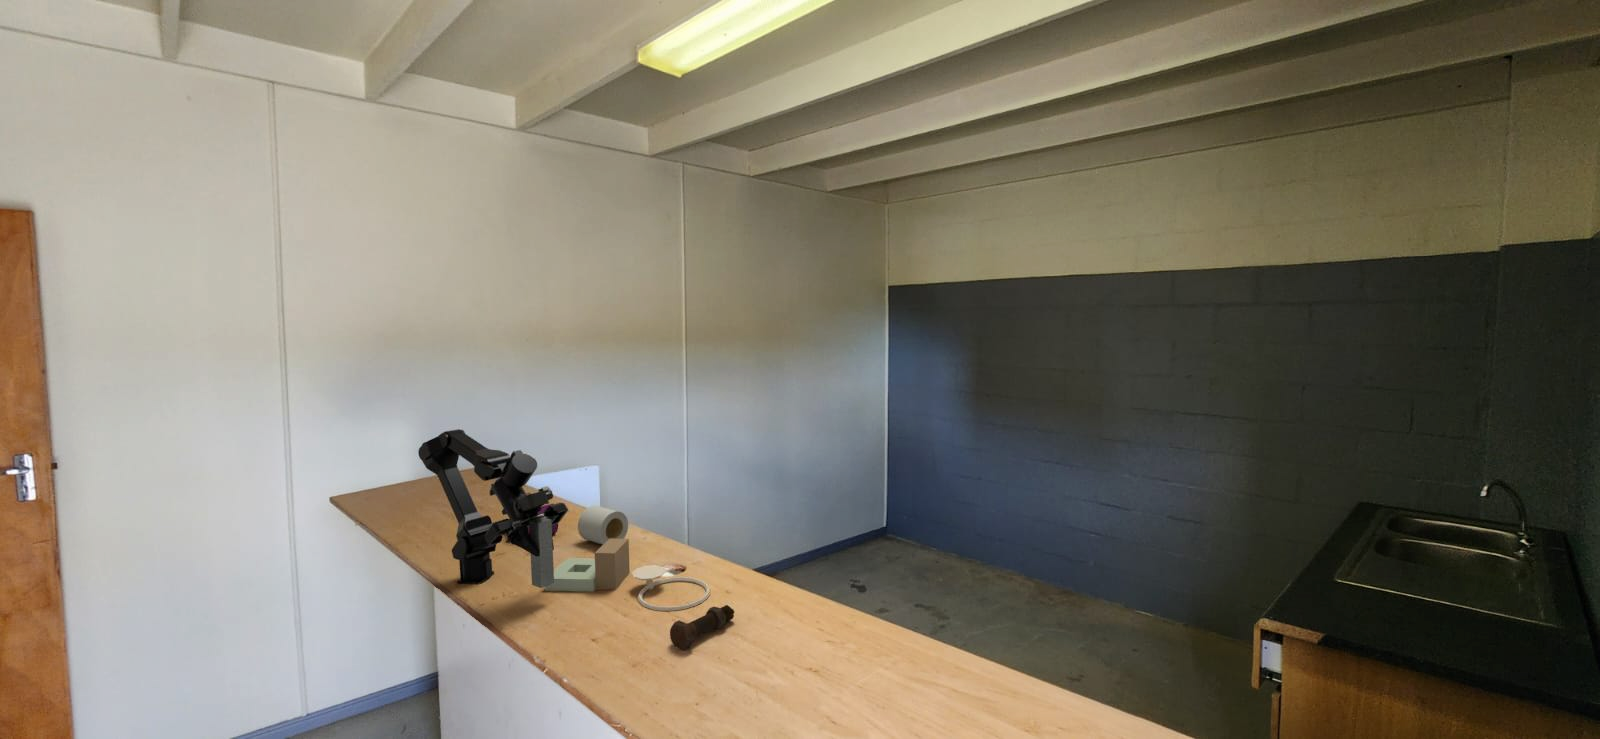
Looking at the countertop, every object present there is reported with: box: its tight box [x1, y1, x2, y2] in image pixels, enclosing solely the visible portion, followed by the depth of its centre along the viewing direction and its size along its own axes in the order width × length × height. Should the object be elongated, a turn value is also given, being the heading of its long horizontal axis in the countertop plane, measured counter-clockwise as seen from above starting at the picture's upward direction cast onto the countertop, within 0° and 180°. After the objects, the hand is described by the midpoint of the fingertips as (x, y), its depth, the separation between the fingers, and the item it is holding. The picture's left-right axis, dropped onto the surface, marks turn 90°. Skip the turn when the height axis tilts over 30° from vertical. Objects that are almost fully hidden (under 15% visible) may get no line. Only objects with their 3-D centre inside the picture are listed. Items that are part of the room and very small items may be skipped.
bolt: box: [669, 604, 735, 651], centre depth 135 cm, size 6×5×15 cm
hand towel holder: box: [631, 564, 711, 612], centre depth 154 cm, size 17×4×21 cm
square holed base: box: [544, 538, 631, 593], centre depth 162 cm, size 17×13×9 cm
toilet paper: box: [577, 505, 629, 546], centre depth 188 cm, size 10×10×10 cm
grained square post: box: [529, 517, 555, 589], centre depth 148 cm, size 3×3×15 cm
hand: (545, 552), depth 147 cm, fingers closed on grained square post, 3 cm apart
